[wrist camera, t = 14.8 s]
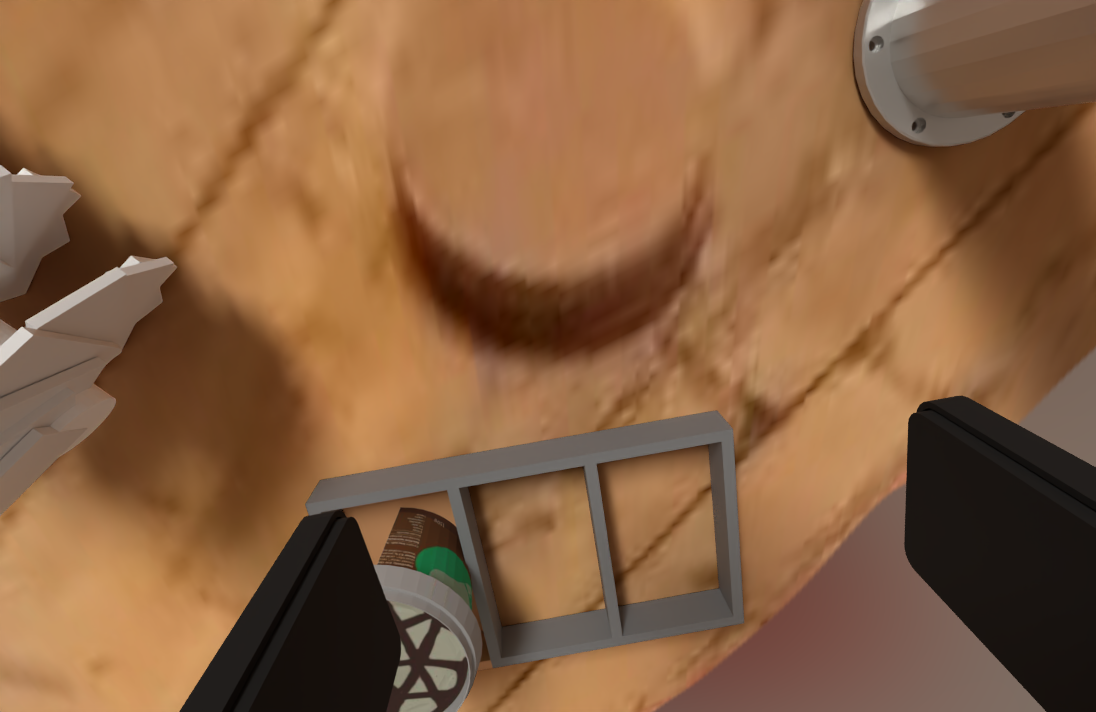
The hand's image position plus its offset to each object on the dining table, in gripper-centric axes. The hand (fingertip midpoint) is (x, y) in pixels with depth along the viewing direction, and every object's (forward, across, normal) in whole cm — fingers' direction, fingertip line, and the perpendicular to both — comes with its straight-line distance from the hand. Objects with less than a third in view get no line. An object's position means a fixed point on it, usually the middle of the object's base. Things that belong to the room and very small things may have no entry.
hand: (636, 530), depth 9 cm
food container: (+27, +13, +20) cm, 36 cm away
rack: (+27, +6, +21) cm, 35 cm away
